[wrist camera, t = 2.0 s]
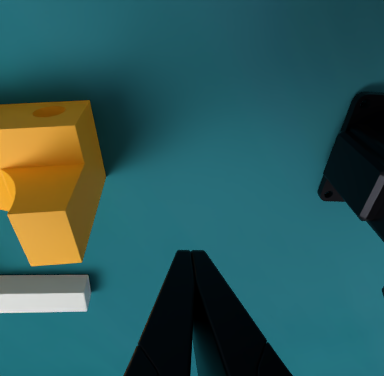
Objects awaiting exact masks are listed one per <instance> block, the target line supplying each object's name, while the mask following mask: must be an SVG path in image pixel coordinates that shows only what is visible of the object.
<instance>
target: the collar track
mask: <svg viewBox="0 0 384 376" xmlns="http://www.w3.org/2000/svg"><path fill="white" fill-rule="evenodd" d="M90 296H91V289H90V282H89V276H88V275H0V313H26V312H79V311H87V309H88V305H89V300H90Z"/></svg>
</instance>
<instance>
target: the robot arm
mask: <svg viewBox="0 0 384 376" xmlns="http://www.w3.org/2000/svg"><path fill="white" fill-rule="evenodd" d="M364 100H366V103H365V104H364V105H363V106H360V104H361V103H362V101H364ZM323 174H324V176H323V178H322V181H321V184H320V186H319V189H318V195H319V197H320V198H321V199H322V200H323V201H339V202H346V203H347V204H348V205H349V207H350V208H351V209H352V210H353V212H354V213H355V214H356V215H357V217H358V218H359V219H360V220H361V221H367V223H368V224H369V225H370V226H371V227H372V229H373V230H374V231H375V232H376V233H377V235H378V236H379V237H380V238H381V239H382V241H383V242H384V93H376V92H361V93H359V94H357V95H356V96H355V97H354V98H353V100H352V102H351V105H350V107H349V110H348V113H347V115H346V118H345V121H344V123H343V126H342V128H341V131H340V133H339V134H338V135H337V138H336V141H335V143H334V146H333V148H332V151H331V154H330V156H329V159H328V162H327V164H326V167H325V170H324V172H323ZM328 191H329V192H328ZM326 192H328V193H327V194H325V193H326ZM382 293H383V296H384V287H383V288H382ZM192 339H193V345H194V352H195V358H196V365H197V371H198V376H293V375H292V374H291V373H290V371H289V370H288V369H287V367H286V366H285V365H284V363H283V362H282V361H281V359H280V358H279V357H278V355H277V354H276V352H275V351H274V349H273V348H272V347H271V345H270V344H269V343H268V342H267V340H266V338H265V337H264V335H263V334H262V332H261V331H260V330H259V328H258V327H257V325H256V324H255V322H254V321H253V319H252V318H251V317H250V315H249V314H248V312H247V311H246V309H245V308H244V307H243V305H242V304H241V302H240V301H239V299H238V298H237V297H236V295H235V294H234V292H233V291H232V289H231V288H230V286H229V285H228V284H227V282H226V281H225V279H224V278H223V276H222V275H221V274H220V272H219V271H218V269H217V268H216V266H215V265H214V264H213V262H212V261H211V259H210V258H209V256H208V255H207V253H206V252H205V251H203V250H192V251H191V252H190V250H178V251H177V252H176V254H175V257H174V259H173V261H172V264H171V266H170V269H169V271H168V273H167V276H166V278H165V280H164V283H163V285H162V287H161V290H160V292H159V295H158V297H157V299H156V302H155V304H154V306H153V309H152V311H151V314H150V316H149V318H148V321H147V323H146V325H145V328H144V330H143V332H142V335H141V337H140V340H139V342H138V346H136V349H135V351H134V353H133V356H132V358H131V360H130V362H129V365H128V367H127V369H126V371H125V373H124V375H123V376H190V371H191V353H192ZM266 342H267V343H266Z"/></svg>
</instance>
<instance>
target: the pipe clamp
mask: <svg viewBox="0 0 384 376" xmlns="http://www.w3.org/2000/svg"><path fill="white" fill-rule="evenodd" d="M105 179H106V174H105V169H104V165H103V160H102V155H101V151H100V146H99V141H98V136H97V132H96V127H95V122H94V118H93V113H92V108H91V104H90V100H83V101H62V102H41V103H21V104H0V210H5V211H9V212H8V214H7V215H8V218H9V220H10V222H11V224H12V226H13V228H14V230H15V233H16V235H17V237H18V239H19V241H20V243H21V245H22V248H23V250H24V252H25V254H26V256H27V258H28V261H29V263H30V265H31V266H42V265H55V264H69V263H82V261H83V257H84V254H85V250H86V246H87V243H88V239H89V236H90V232H91V229H92V225H93V221H94V218H95V214H96V211H97V207H98V204H99V200H100V197H101V193H102V189H103V186H104V182H105Z"/></svg>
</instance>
